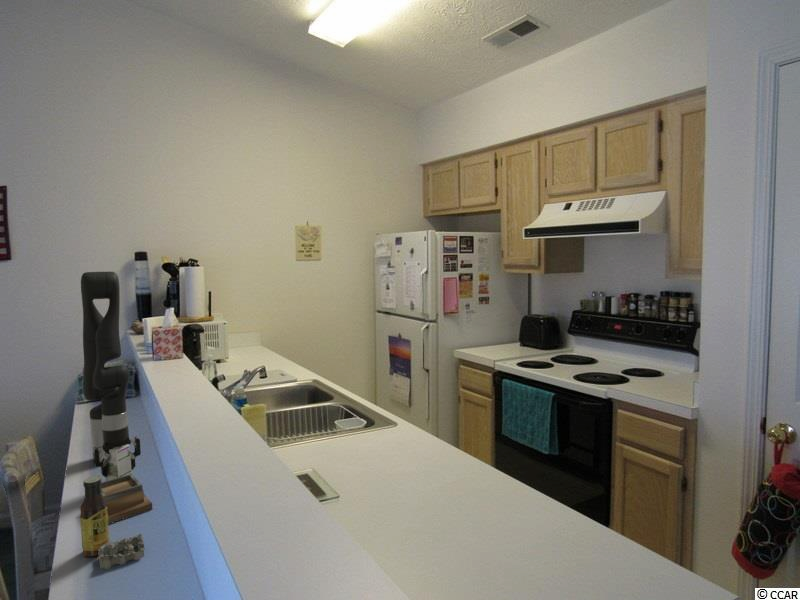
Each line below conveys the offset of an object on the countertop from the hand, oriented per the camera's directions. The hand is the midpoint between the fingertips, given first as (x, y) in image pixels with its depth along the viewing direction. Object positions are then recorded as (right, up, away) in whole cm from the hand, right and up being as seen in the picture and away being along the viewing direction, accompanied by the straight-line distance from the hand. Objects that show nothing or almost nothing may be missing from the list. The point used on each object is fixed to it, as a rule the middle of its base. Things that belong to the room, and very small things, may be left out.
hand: (118, 472), depth 173 cm
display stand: (+7, -7, -13) cm, 16 cm away
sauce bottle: (+13, -9, -35) cm, 38 cm away
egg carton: (+21, -10, -38) cm, 44 cm away
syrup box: (0, -5, +1) cm, 5 cm away
